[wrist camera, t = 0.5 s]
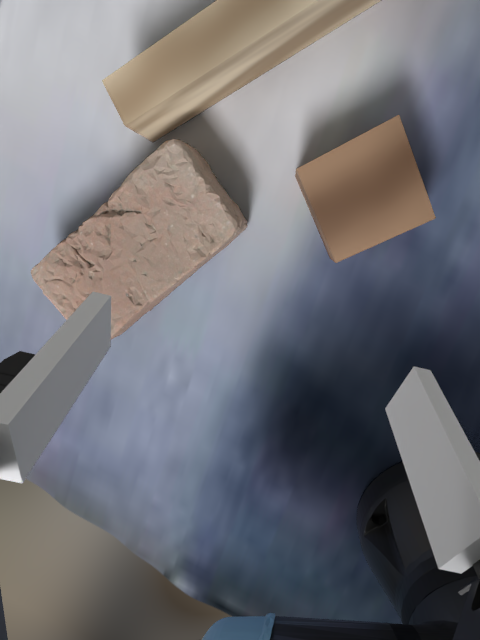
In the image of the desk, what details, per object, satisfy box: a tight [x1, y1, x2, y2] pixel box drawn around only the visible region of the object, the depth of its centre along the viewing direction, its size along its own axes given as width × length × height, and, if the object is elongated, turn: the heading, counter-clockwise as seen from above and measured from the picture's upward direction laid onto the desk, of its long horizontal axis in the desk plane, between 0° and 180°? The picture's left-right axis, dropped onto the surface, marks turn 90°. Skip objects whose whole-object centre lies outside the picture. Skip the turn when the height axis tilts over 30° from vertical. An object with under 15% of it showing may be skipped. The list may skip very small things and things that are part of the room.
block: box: [295, 115, 436, 263], centre depth 25 cm, size 7×7×4 cm
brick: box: [31, 139, 247, 340], centre depth 29 cm, size 17×8×5 cm, turn 129°
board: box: [102, 0, 381, 142], centre depth 23 cm, size 3×21×5 cm, turn 116°
